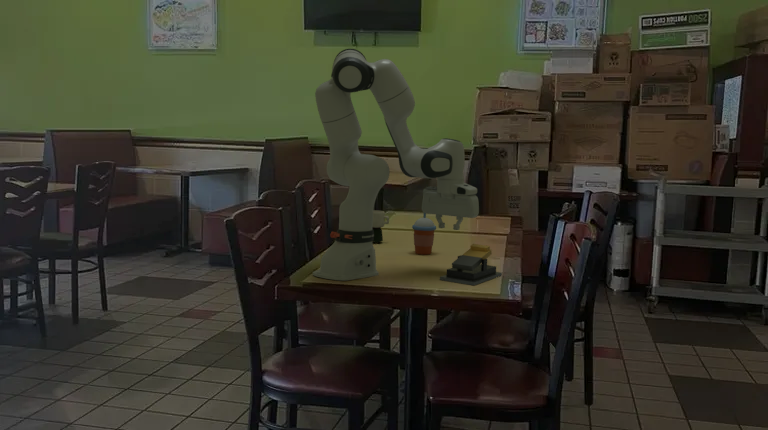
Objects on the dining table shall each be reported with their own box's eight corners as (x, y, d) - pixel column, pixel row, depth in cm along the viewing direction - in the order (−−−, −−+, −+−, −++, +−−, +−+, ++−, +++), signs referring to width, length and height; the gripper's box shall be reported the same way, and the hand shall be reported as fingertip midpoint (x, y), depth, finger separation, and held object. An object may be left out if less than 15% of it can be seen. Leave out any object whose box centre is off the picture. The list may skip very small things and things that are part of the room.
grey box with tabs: (474, 285, 215) (475, 264, 214) (439, 279, 222) (440, 259, 221) (501, 275, 231) (502, 255, 231) (469, 270, 238) (470, 251, 237)
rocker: (472, 271, 219) (471, 262, 218) (452, 267, 222) (451, 259, 222) (491, 254, 229) (491, 246, 228) (472, 251, 233) (471, 243, 232)
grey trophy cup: (388, 241, 294) (389, 210, 293) (387, 244, 287) (388, 212, 286) (362, 240, 295) (363, 209, 293) (361, 243, 288) (362, 211, 286)
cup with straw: (433, 256, 264) (435, 208, 262) (409, 254, 265) (411, 207, 263) (436, 252, 273) (438, 206, 270) (413, 250, 274) (415, 204, 272)
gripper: (418, 186, 237) (417, 226, 239) (473, 190, 226) (471, 233, 228) (428, 185, 242) (427, 224, 244) (481, 189, 231) (480, 230, 233)
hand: (448, 228), depth 236 cm, fingers open, 4 cm apart
